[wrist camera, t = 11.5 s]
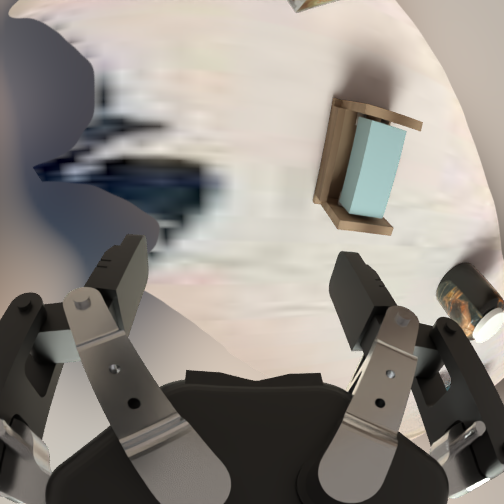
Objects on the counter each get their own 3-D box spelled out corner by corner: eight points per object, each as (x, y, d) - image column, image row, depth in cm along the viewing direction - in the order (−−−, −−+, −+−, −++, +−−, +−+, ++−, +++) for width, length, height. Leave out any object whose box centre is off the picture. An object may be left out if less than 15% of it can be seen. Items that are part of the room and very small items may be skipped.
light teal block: (339, 201, 39) (349, 213, 35) (358, 116, 33) (371, 120, 29) (370, 206, 39) (382, 218, 36) (391, 126, 33) (406, 131, 30)
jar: (466, 252, 50) (507, 295, 37) (479, 277, 54) (514, 318, 41) (429, 290, 54) (463, 339, 41) (446, 311, 58) (475, 355, 46)
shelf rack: (312, 201, 43) (329, 228, 35) (333, 97, 35) (358, 101, 27) (365, 208, 44) (390, 235, 36) (389, 113, 36) (422, 122, 28)
